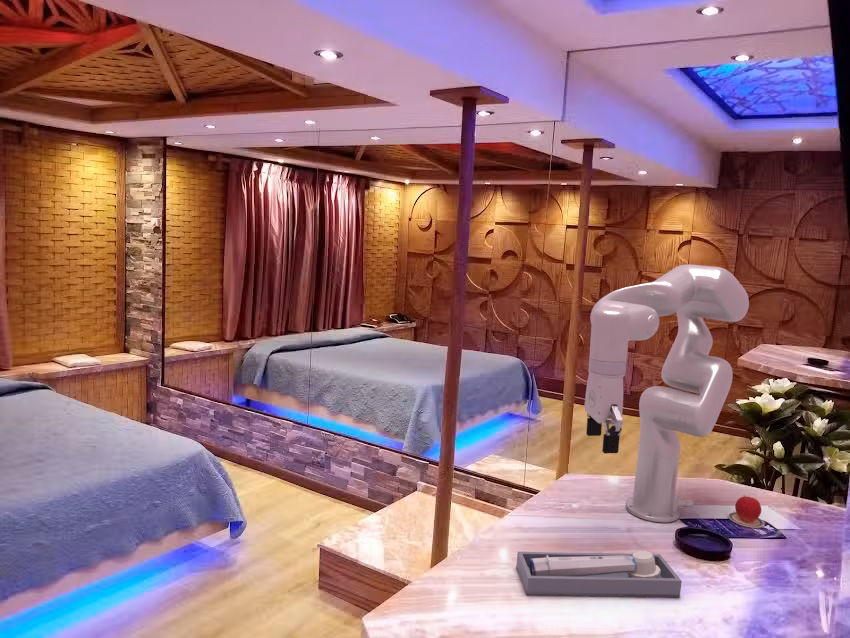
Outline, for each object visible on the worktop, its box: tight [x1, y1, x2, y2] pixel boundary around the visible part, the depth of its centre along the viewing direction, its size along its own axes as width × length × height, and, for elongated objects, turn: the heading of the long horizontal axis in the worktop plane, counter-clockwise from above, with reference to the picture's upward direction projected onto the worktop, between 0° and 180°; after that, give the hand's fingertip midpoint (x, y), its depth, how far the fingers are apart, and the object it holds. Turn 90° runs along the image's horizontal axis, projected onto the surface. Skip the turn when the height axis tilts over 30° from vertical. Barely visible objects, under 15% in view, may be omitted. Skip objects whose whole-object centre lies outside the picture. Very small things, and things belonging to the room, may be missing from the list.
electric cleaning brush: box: [529, 550, 661, 578], centre depth 124 cm, size 5×7×25 cm
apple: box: [727, 495, 765, 529], centre depth 156 cm, size 8×8×6 cm
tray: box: [515, 551, 683, 599], centre depth 125 cm, size 30×10×4 cm, turn 94°
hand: (601, 443), depth 137 cm, fingers open, 9 cm apart
